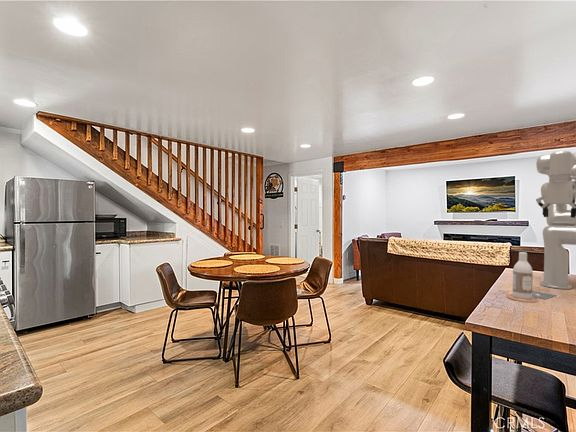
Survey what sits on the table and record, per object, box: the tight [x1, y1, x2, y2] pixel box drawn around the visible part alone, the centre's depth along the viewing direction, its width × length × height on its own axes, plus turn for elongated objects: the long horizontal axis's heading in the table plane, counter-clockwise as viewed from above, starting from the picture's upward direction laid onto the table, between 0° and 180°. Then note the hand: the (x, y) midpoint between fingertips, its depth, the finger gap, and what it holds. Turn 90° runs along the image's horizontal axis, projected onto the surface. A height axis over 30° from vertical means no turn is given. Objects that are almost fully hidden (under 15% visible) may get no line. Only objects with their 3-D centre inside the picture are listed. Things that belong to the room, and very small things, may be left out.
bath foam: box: [512, 251, 534, 299], centre depth 138 cm, size 7×7×20 cm
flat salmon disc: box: [506, 293, 539, 303], centre depth 138 cm, size 11×11×1 cm
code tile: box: [532, 290, 557, 300], centre depth 145 cm, size 12×12×1 cm
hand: (559, 217), depth 141 cm, fingers open, 9 cm apart
